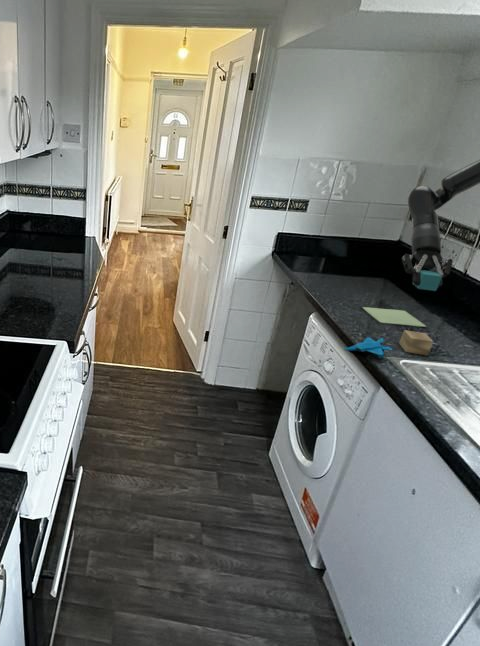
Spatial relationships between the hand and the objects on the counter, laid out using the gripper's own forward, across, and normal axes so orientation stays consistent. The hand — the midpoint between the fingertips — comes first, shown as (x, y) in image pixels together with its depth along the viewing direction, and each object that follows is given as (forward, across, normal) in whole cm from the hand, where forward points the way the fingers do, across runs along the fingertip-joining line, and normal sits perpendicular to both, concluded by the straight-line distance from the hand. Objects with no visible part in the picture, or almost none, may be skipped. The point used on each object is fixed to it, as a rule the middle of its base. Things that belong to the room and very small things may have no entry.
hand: (427, 285), depth 132 cm
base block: (+19, -1, +8) cm, 21 cm away
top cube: (0, 0, +2) cm, 2 cm away
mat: (0, +2, +27) cm, 27 cm away
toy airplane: (+25, -17, +2) cm, 30 cm away
